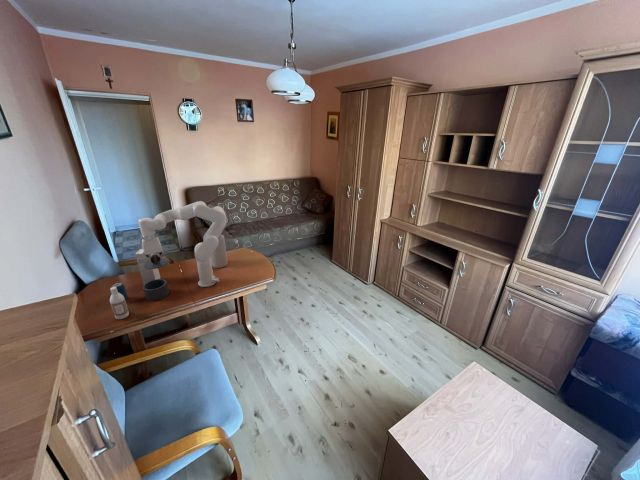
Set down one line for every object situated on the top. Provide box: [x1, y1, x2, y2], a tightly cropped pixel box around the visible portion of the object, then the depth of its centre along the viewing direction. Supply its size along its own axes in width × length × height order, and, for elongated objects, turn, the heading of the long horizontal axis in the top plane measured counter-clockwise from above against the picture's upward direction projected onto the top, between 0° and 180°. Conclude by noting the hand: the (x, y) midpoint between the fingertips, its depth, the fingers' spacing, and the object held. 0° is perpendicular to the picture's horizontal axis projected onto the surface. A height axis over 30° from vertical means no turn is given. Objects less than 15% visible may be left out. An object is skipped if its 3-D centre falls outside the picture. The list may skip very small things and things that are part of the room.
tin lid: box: [144, 253, 170, 269], centre depth 175 cm, size 15×15×7 cm
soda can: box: [110, 281, 129, 302], centre depth 172 cm, size 7×7×12 cm
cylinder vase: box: [211, 234, 229, 269], centre depth 216 cm, size 12×12×25 cm
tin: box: [142, 278, 170, 302], centre depth 178 cm, size 14×14×8 cm
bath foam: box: [109, 287, 130, 320], centre depth 156 cm, size 7×7×20 cm
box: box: [134, 248, 161, 285], centre depth 190 cm, size 8×8×25 cm
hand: (156, 262), depth 176 cm, fingers closed on tin lid, 2 cm apart
